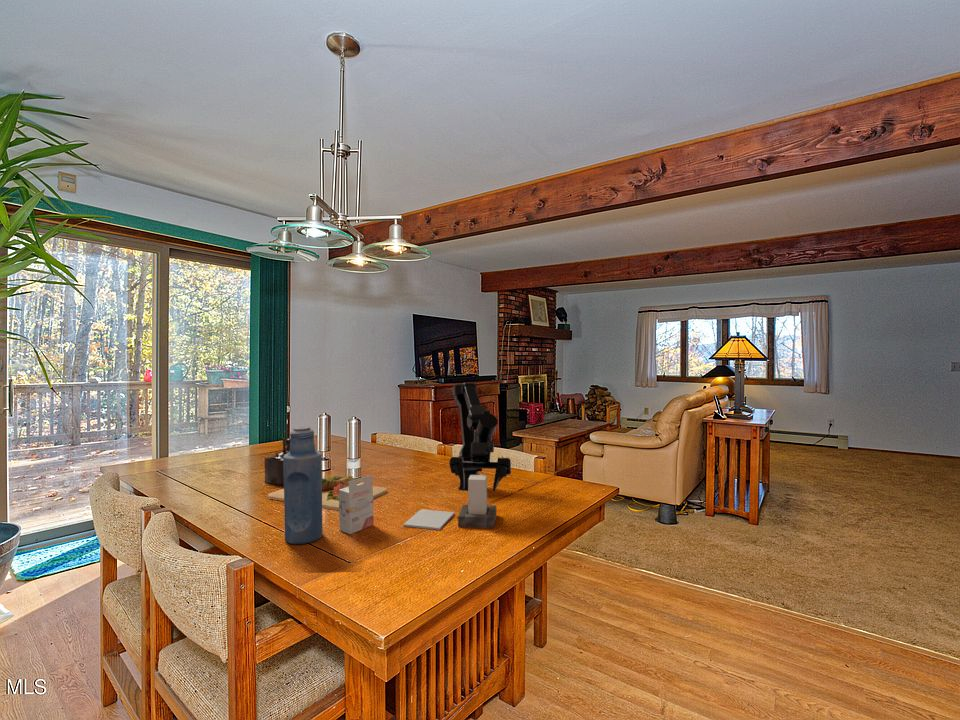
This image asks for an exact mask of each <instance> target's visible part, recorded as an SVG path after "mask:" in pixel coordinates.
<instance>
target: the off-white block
mask: <svg viewBox="0 0 960 720" xmlns="http://www.w3.org/2000/svg"><path fill="white" fill-rule="evenodd" d="M467 491H468V492H467V494H468V495H467V497H468V498H467V499H468V500H467V501H468V504H467V505H468V514H476V515H487V505H488V474H487V475H486V474H479V475H470V477H469V479H468V490H467Z"/></svg>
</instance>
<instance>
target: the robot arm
mask: <svg viewBox="0 0 960 720" xmlns="http://www.w3.org/2000/svg"><path fill="white" fill-rule="evenodd" d="M451 389H452V390H451V392H452V393H451V394H452V396H453V399H454V402H455V404H456V405H457V407H458V408H459V418H460V427H461V438H462V439H461V440H462V447H461V448H460V451H459V453H458V454H459V456H451V457H450V459H449V461H448V462H449V463H448V465H449V468H450V472H451V473H452V474H454V475H455V476H457V477H458V479H459V486H458V490H462V492H464V491H465V490H467V491H468V479H469V477H470V475H480V474H479V472H483V469H484V470H485V469H487V470H490V469H491V470H492V469H493V470H495V472H494V473H495V475H494V479H493V486H492V491H493V492H496V490H497V487H498V485H499V483H500V482H501V481H502V479H503V478H506V477H507V476H508V475H512V474H511V473H512V464H511V463H512V462H511V458H510V457H497V461H491V455H492V454H491V453H494V452H495V451H494V450H495V447H494V446H495V442H494V441H495V440H492V437H493V436H494V435H495V431H496V428H497V427H498V423H499V421H498V420H499V419H498V418H497V416H495V415H494V414H492V413H490V411H489V410H487V409H486V408H485V407H483V406H482V403H481V401H480V397H479V395H478V392H477V384H476V382H463V383H455V385H453V386H452V388H451Z"/></svg>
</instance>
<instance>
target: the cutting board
mask: <svg viewBox="0 0 960 720" xmlns="http://www.w3.org/2000/svg"><path fill="white" fill-rule="evenodd" d="M355 479H356V478H354V476H352V475H350V474H348V475H346V476H342V475H334V476H333V477H330V478H327V477H324V478H322V509H326V510H332V511H338V512H339V489H343V488H346V487H349V484H348V482H349V481H351V480H355ZM357 484H360V482H359V483H357ZM357 484H356V485H357ZM372 486H373V500H374V499H376V498H378V497H380V496H382V495H385V494H386V493H388V489H387V488H386V487H383V486H377V485H376V486H375V485H372ZM267 498H268V500H271V499H273V501H277V500H279V502H283V501H284V488H281V489H278V490H276V491H273V492H270V493H267Z"/></svg>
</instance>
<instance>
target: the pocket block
mask: <svg viewBox="0 0 960 720" xmlns="http://www.w3.org/2000/svg"><path fill="white" fill-rule="evenodd" d="M496 519H497V505H489V504H487V515H476V514H468V504H463V505H462V507H461V509H460V511H459V514H458V515H457V526H458V528H479V529H480V528H481V529H482V528H483V529H494V528H495V523H496Z"/></svg>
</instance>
